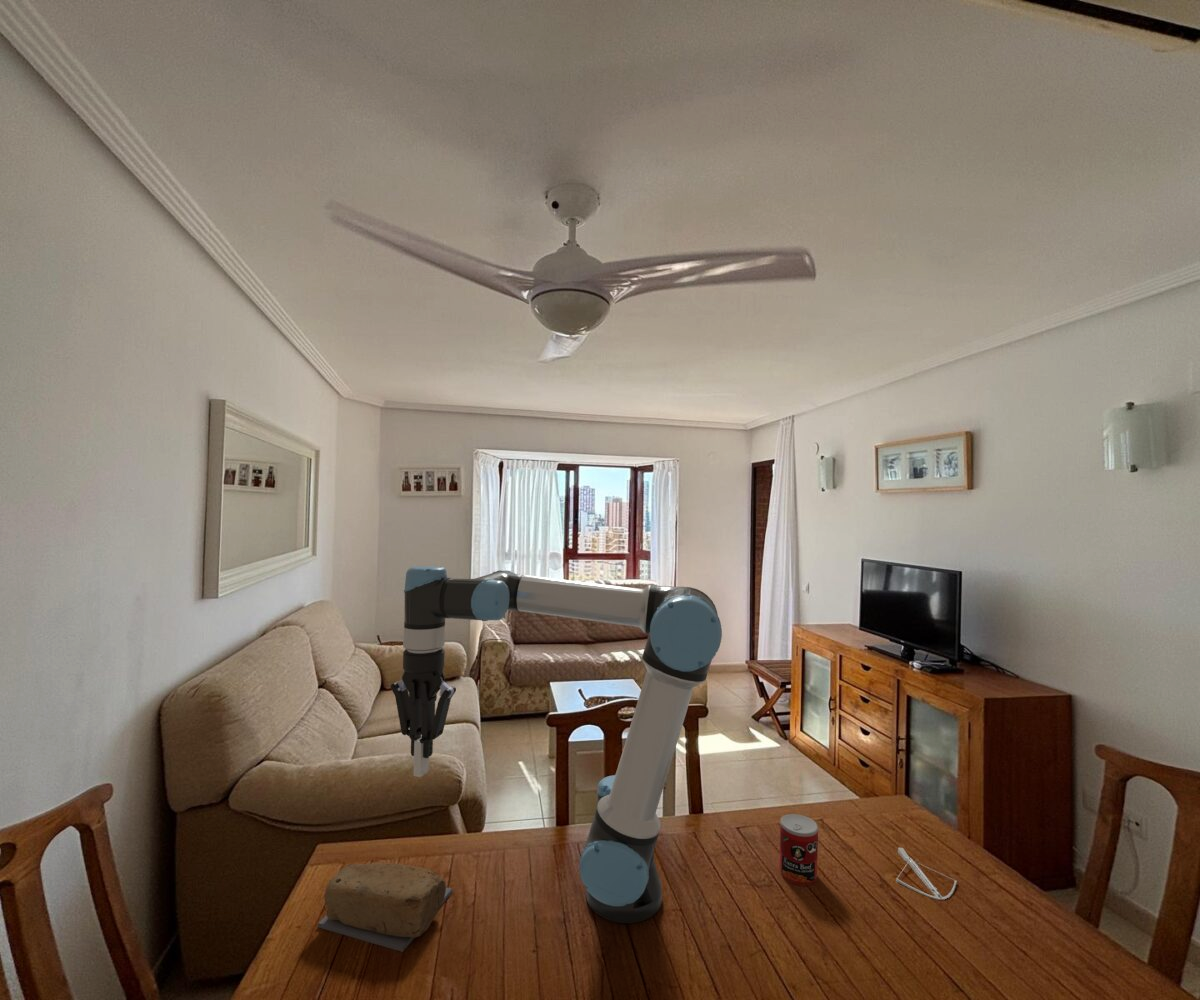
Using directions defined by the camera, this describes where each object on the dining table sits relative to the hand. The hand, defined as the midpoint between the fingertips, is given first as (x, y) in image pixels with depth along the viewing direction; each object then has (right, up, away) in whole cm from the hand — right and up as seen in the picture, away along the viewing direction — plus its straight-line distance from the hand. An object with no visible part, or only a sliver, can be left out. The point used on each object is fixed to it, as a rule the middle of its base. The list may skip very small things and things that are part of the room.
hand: (421, 773), depth 107 cm
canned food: (+77, -29, +15) cm, 83 cm away
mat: (-7, -27, +1) cm, 28 cm away
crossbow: (+103, -31, +16) cm, 109 cm away
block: (+4, -22, -4) cm, 23 cm away
